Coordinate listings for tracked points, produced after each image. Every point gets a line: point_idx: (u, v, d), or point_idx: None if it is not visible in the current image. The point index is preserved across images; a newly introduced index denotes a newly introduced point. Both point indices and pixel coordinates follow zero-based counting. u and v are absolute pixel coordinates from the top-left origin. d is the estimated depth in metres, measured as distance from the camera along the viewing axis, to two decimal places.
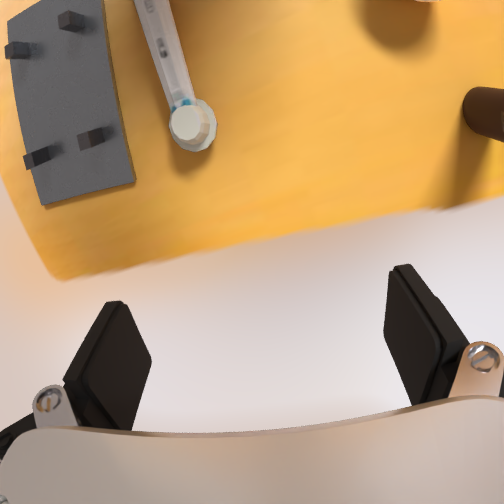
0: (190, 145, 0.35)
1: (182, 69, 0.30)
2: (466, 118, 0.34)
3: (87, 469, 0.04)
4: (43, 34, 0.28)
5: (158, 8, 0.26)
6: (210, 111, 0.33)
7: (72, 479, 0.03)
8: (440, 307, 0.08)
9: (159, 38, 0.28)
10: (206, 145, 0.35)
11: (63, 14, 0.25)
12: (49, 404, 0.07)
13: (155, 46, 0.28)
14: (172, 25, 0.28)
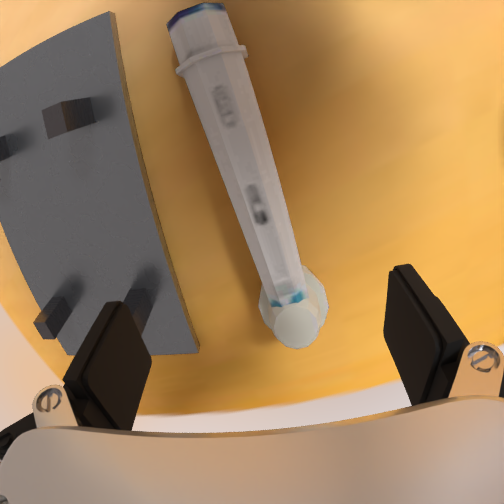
0: None
1: (291, 243, 0.21)
2: None
3: (87, 469, 0.04)
4: (24, 124, 0.19)
5: (244, 118, 0.17)
6: (321, 291, 0.24)
7: (72, 479, 0.03)
8: (440, 307, 0.08)
9: (251, 185, 0.19)
10: None
11: (52, 109, 0.16)
12: (49, 404, 0.07)
13: (243, 200, 0.19)
14: (270, 154, 0.19)
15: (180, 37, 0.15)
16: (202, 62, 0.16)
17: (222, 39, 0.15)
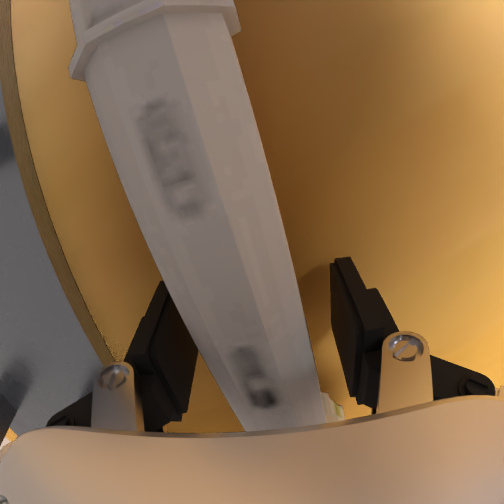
0: None
1: (318, 419, 0.10)
2: None
3: (87, 469, 0.04)
4: None
5: (226, 191, 0.07)
6: None
7: (72, 479, 0.03)
8: (368, 297, 0.09)
9: (244, 349, 0.08)
10: None
11: None
12: (113, 381, 0.08)
13: (227, 371, 0.08)
14: (290, 272, 0.08)
15: None
16: (116, 41, 0.05)
17: None
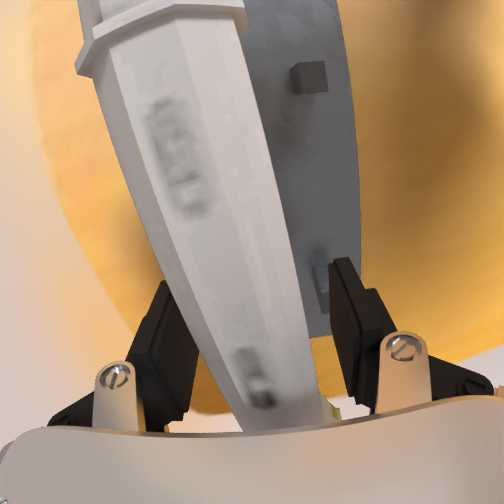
0: None
1: (316, 421, 0.10)
2: None
3: (87, 469, 0.04)
4: None
5: (232, 192, 0.07)
6: None
7: (72, 479, 0.03)
8: (366, 297, 0.09)
9: (246, 349, 0.08)
10: None
11: (312, 65, 0.17)
12: (114, 381, 0.08)
13: (228, 372, 0.08)
14: (293, 274, 0.08)
15: None
16: (124, 38, 0.05)
17: None
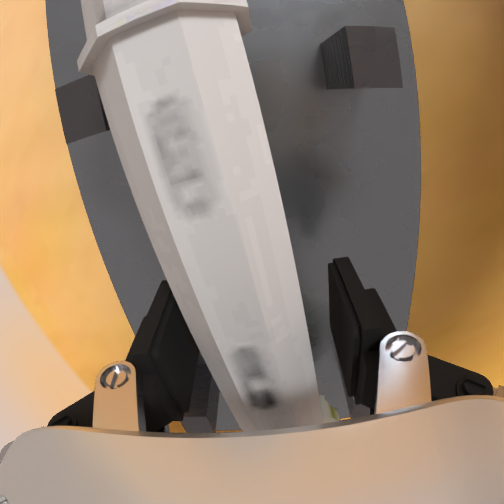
0: None
1: (315, 421, 0.10)
2: None
3: (87, 469, 0.04)
4: None
5: (234, 191, 0.07)
6: None
7: (72, 479, 0.03)
8: (366, 297, 0.09)
9: (246, 349, 0.08)
10: None
11: (373, 34, 0.07)
12: (115, 381, 0.08)
13: (227, 371, 0.08)
14: (294, 273, 0.08)
15: None
16: (128, 36, 0.05)
17: None
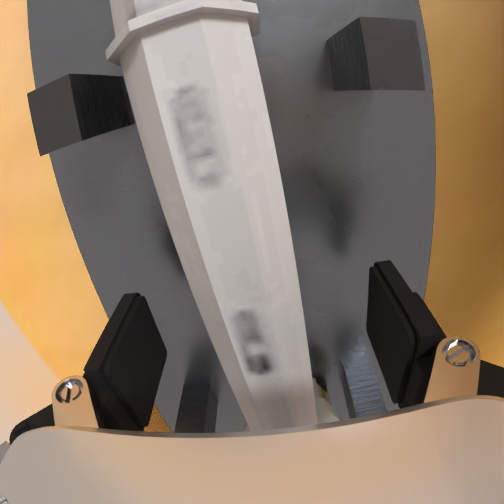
0: None
1: (307, 392, 0.11)
2: None
3: (87, 469, 0.04)
4: None
5: (241, 167, 0.08)
6: None
7: (72, 479, 0.03)
8: (416, 302, 0.08)
9: (245, 312, 0.09)
10: None
11: (392, 27, 0.06)
12: (69, 395, 0.07)
13: (227, 335, 0.09)
14: (290, 245, 0.09)
15: None
16: (155, 32, 0.06)
17: None
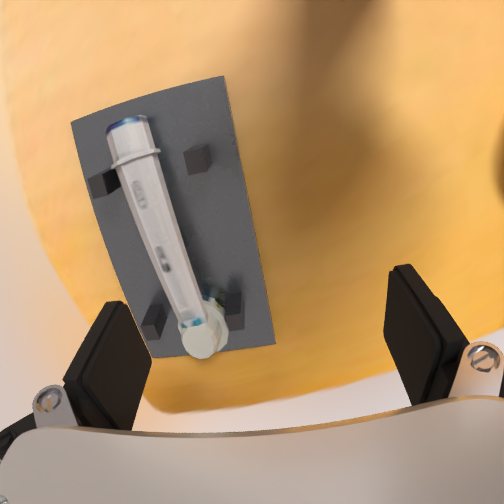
0: None
1: (189, 284, 0.30)
2: None
3: (87, 469, 0.04)
4: None
5: (152, 202, 0.26)
6: (221, 318, 0.33)
7: (72, 479, 0.03)
8: (440, 307, 0.08)
9: (158, 246, 0.28)
10: (218, 349, 0.34)
11: (193, 153, 0.25)
12: (49, 404, 0.07)
13: (154, 256, 0.28)
14: (172, 225, 0.28)
15: (112, 143, 0.25)
16: (125, 164, 0.25)
17: (137, 145, 0.25)
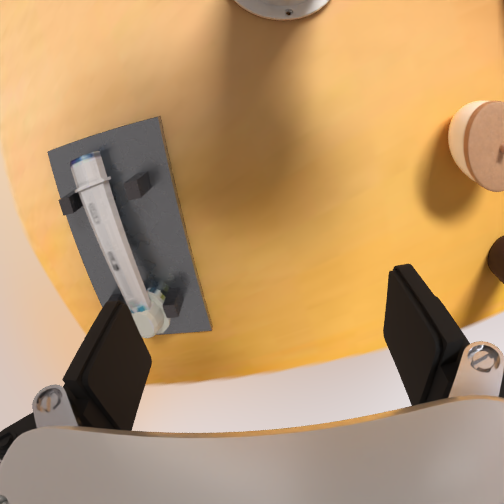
0: None
1: (134, 280, 0.37)
2: (488, 264, 0.42)
3: (87, 469, 0.04)
4: None
5: (103, 219, 0.34)
6: None
7: (72, 479, 0.03)
8: (440, 307, 0.08)
9: (109, 252, 0.35)
10: (162, 331, 0.42)
11: (131, 184, 0.32)
12: (49, 404, 0.07)
13: (107, 258, 0.36)
14: (119, 235, 0.36)
15: (74, 174, 0.32)
16: (83, 190, 0.33)
17: (91, 177, 0.32)
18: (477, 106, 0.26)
